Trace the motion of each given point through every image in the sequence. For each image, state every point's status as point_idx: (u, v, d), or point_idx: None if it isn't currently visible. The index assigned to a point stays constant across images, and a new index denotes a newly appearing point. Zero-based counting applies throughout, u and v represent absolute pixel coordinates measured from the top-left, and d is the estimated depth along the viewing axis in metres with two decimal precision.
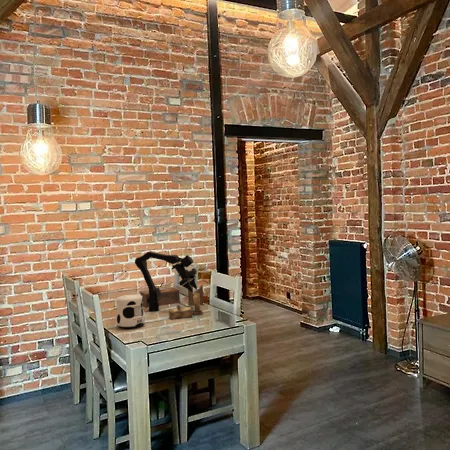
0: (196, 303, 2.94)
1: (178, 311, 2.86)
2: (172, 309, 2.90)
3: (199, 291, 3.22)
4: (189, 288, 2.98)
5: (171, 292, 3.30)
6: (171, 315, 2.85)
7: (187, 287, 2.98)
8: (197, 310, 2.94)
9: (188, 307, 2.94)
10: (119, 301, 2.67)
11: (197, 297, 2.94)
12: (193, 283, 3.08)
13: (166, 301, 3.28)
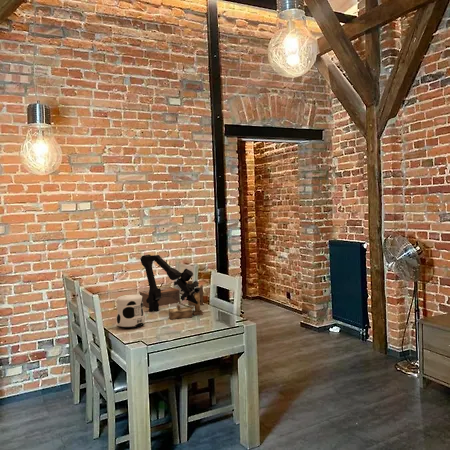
0: None
1: (178, 311, 2.86)
2: (172, 309, 2.90)
3: (199, 291, 3.22)
4: (194, 301, 2.93)
5: (172, 292, 3.31)
6: (171, 315, 2.85)
7: (191, 300, 2.94)
8: (197, 310, 2.94)
9: (188, 307, 2.94)
10: (119, 301, 2.67)
11: (197, 297, 2.94)
12: None
13: (167, 300, 3.29)
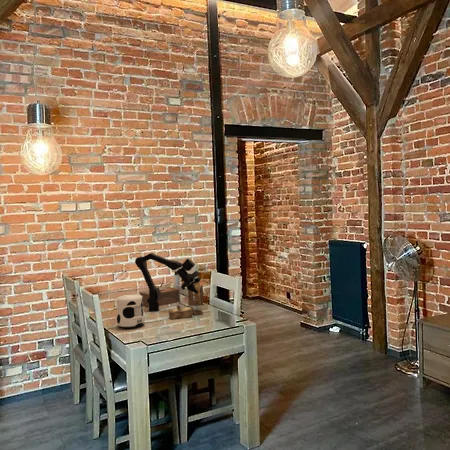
0: None
1: (178, 311, 2.86)
2: (172, 309, 2.90)
3: None
4: (194, 290, 2.99)
5: (172, 291, 3.32)
6: (171, 315, 2.85)
7: (192, 289, 3.00)
8: (197, 299, 3.00)
9: (188, 307, 2.94)
10: (119, 301, 2.67)
11: (197, 287, 3.00)
12: None
13: (168, 300, 3.30)
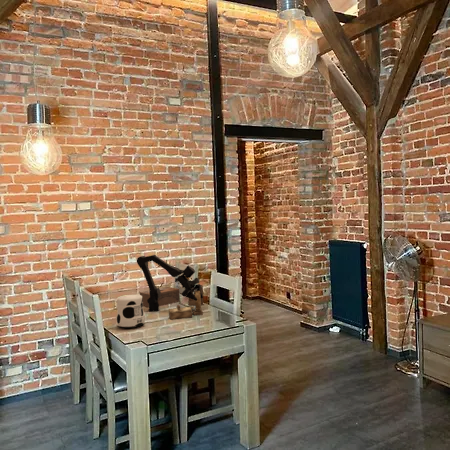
0: (197, 301, 3.01)
1: (178, 311, 2.86)
2: (172, 309, 2.90)
3: None
4: (193, 297, 2.99)
5: (172, 291, 3.33)
6: (171, 315, 2.85)
7: (191, 297, 2.99)
8: (198, 307, 3.01)
9: (188, 307, 2.94)
10: (119, 301, 2.67)
11: (198, 295, 3.01)
12: None
13: (168, 300, 3.30)
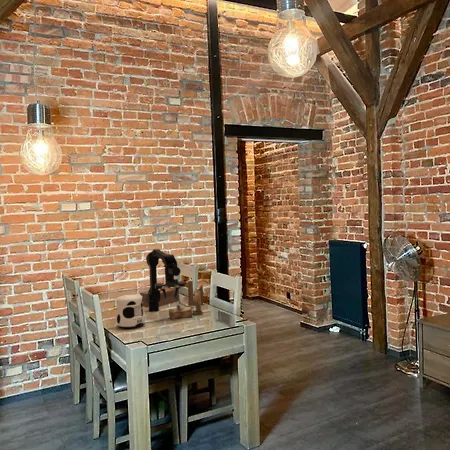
0: (197, 301, 3.01)
1: (178, 311, 2.86)
2: (172, 309, 2.90)
3: None
4: (164, 294, 2.87)
5: (172, 291, 3.34)
6: (171, 315, 2.85)
7: None
8: (198, 307, 3.02)
9: (188, 307, 2.94)
10: (119, 301, 2.67)
11: (198, 295, 3.01)
12: (175, 291, 2.88)
13: (169, 300, 3.31)
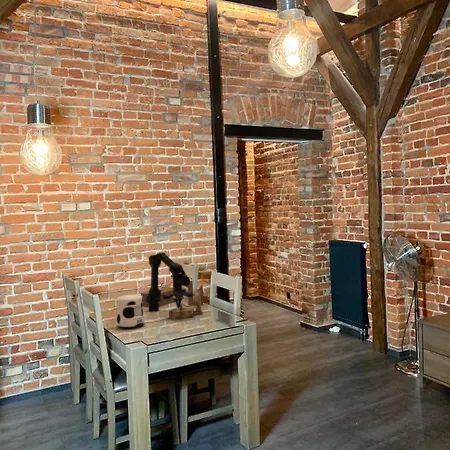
0: (197, 301, 3.01)
1: (181, 311, 2.86)
2: (174, 309, 2.90)
3: None
4: (176, 304, 2.89)
5: (172, 291, 3.35)
6: (171, 315, 2.85)
7: None
8: (198, 307, 3.02)
9: (190, 307, 2.94)
10: (119, 301, 2.67)
11: (198, 295, 3.01)
12: (178, 301, 2.89)
13: (169, 299, 3.32)
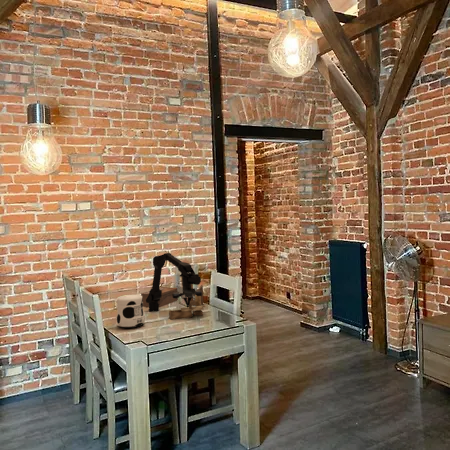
0: (197, 301, 3.01)
1: (190, 310, 2.88)
2: (184, 308, 2.92)
3: None
4: None
5: (172, 290, 3.36)
6: (171, 315, 2.85)
7: (185, 301, 2.91)
8: None
9: (200, 306, 2.95)
10: (119, 301, 2.67)
11: None
12: (188, 301, 2.90)
13: (170, 299, 3.33)
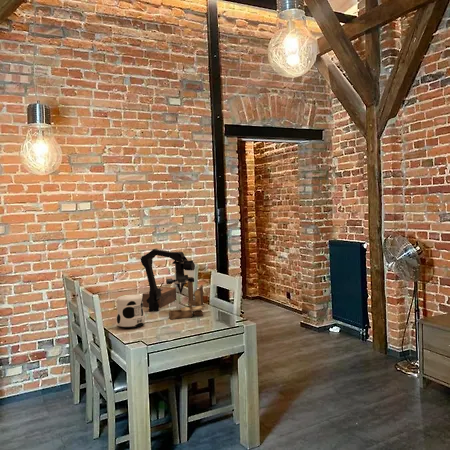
0: (197, 301, 3.01)
1: (190, 310, 2.88)
2: (184, 308, 2.92)
3: None
4: None
5: (172, 290, 3.37)
6: (171, 315, 2.85)
7: (178, 287, 3.04)
8: None
9: (200, 306, 2.95)
10: (119, 301, 2.67)
11: (198, 295, 3.01)
12: (181, 286, 3.03)
13: (170, 299, 3.34)
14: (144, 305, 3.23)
